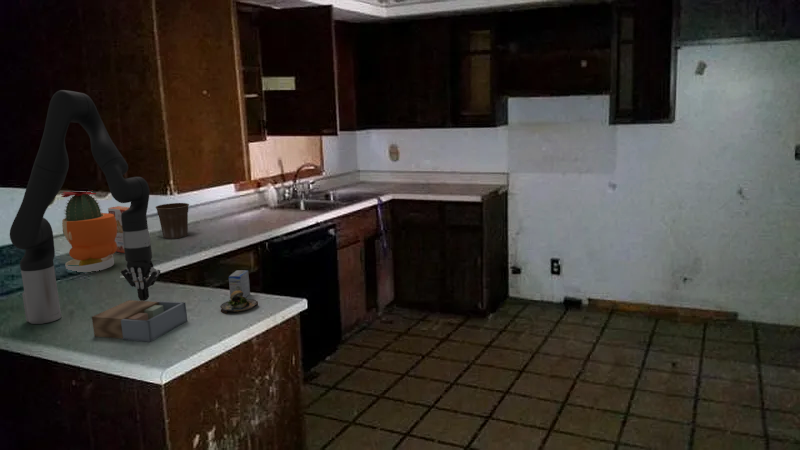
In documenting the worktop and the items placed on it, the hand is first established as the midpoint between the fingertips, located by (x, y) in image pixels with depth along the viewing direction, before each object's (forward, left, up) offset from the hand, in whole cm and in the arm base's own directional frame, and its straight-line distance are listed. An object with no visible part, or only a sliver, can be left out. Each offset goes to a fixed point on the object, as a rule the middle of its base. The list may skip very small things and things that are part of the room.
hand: (144, 299), depth 199 cm
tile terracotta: (+2, -7, -5) cm, 9 cm away
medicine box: (+14, +30, -8) cm, 35 cm away
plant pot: (-76, +120, -8) cm, 142 cm away
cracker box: (-78, +86, -8) cm, 116 cm away
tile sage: (+2, 0, -5) cm, 5 cm away
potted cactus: (-72, +59, -8) cm, 93 cm away
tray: (+6, -4, -8) cm, 11 cm away
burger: (+20, +19, -8) cm, 30 cm away
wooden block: (-4, -4, -8) cm, 10 cm away
